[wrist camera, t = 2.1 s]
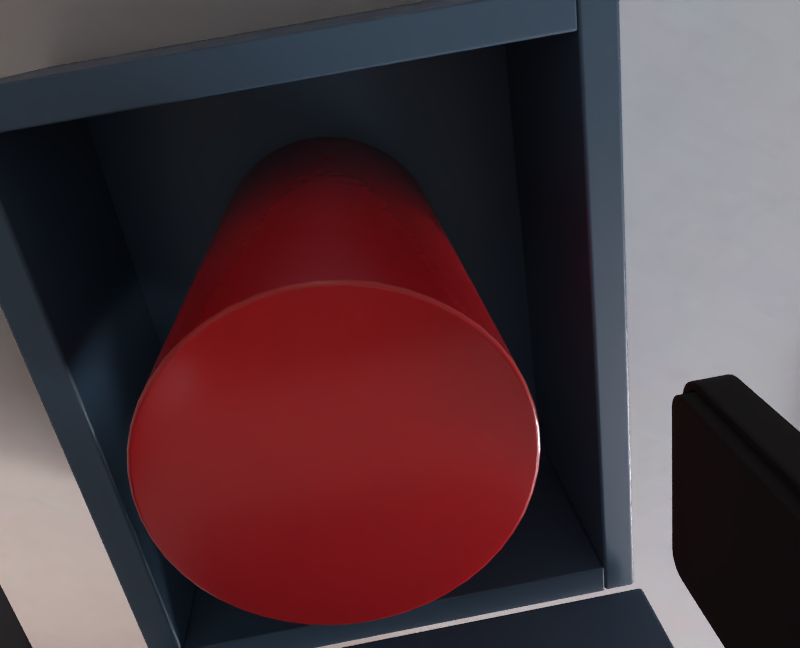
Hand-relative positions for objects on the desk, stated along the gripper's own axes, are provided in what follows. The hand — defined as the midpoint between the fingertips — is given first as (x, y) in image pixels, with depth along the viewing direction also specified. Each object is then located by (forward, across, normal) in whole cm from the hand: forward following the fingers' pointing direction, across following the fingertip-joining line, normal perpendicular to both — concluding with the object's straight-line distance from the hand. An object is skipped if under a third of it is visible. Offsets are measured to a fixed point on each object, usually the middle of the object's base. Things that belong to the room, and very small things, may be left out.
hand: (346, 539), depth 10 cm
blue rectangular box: (+13, 0, +1) cm, 13 cm away
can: (+12, 0, 0) cm, 12 cm away
